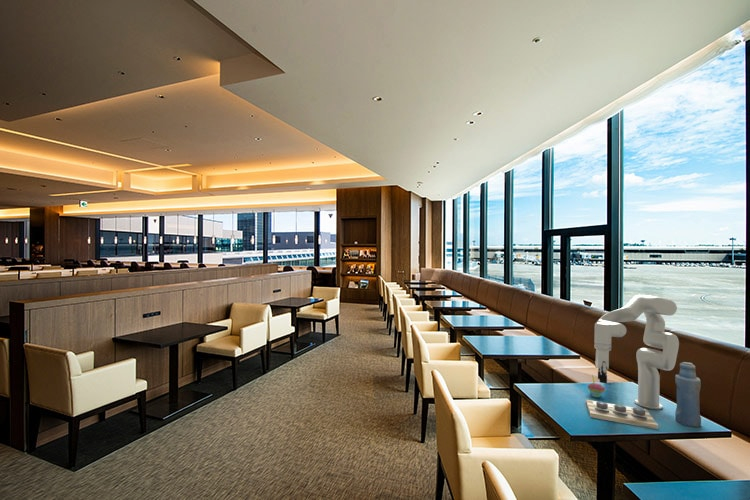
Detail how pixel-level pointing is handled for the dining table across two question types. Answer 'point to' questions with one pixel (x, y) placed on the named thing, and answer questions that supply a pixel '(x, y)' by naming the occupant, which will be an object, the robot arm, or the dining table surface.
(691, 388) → the bottle
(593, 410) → the button board
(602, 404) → the button far
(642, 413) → the button near bottle
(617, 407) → the button middle
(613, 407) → the pattern card
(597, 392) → the cupcake
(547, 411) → the dining table surface
